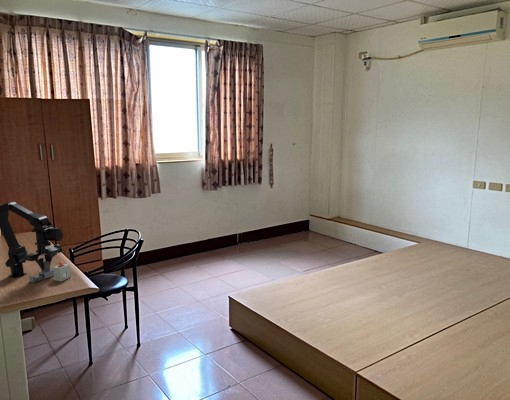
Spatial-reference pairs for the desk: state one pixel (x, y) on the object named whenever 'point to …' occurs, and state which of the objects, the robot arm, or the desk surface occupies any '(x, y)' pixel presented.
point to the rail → (37, 278)
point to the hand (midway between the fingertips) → (45, 269)
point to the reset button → (60, 264)
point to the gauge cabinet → (61, 272)
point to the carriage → (46, 270)
